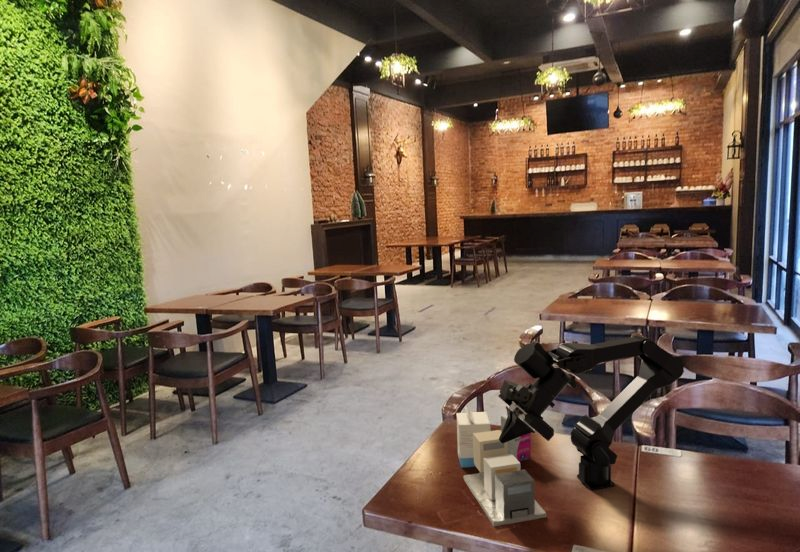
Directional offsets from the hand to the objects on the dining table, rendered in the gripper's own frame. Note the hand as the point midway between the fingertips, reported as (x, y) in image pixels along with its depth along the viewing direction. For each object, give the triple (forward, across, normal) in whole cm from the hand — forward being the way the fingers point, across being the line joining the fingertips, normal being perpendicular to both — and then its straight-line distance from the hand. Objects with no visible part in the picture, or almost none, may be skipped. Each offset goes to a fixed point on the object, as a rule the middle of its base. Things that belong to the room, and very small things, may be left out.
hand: (500, 441), depth 119 cm
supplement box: (+2, -17, +18) cm, 25 cm away
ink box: (+10, -19, +10) cm, 24 cm away
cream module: (+9, 0, +9) cm, 12 cm away
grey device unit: (+10, 0, +10) cm, 14 cm away
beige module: (+7, -7, +7) cm, 12 cm away
